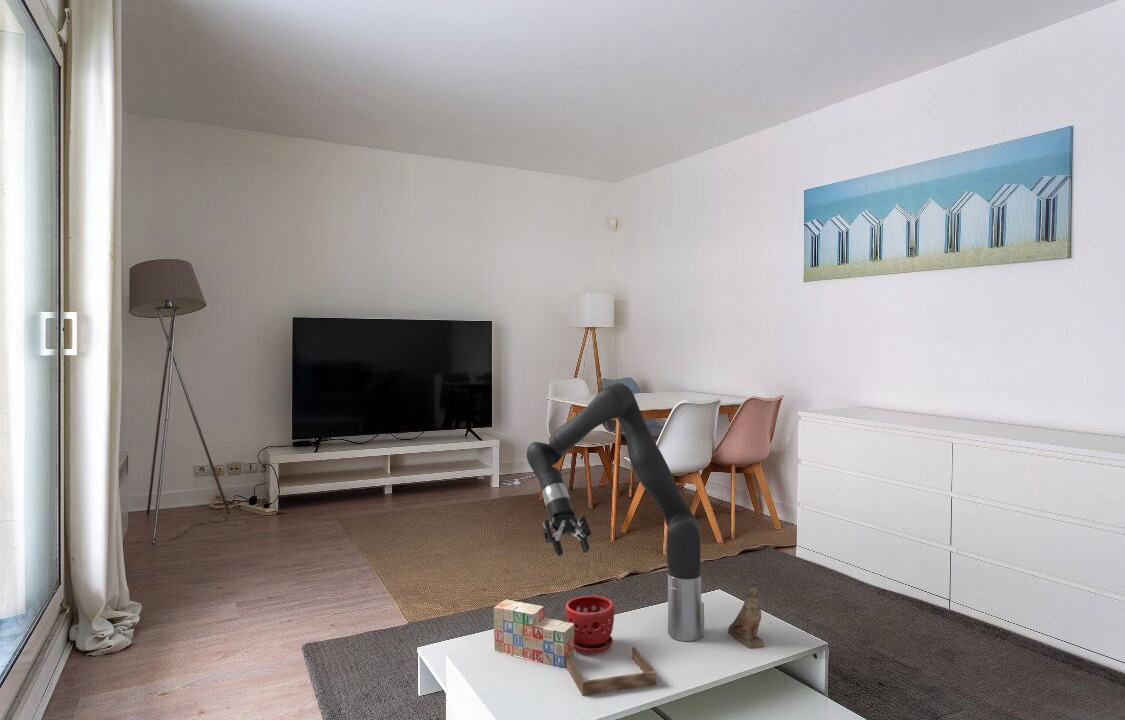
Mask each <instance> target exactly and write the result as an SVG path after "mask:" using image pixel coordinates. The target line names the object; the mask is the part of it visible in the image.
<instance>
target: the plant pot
mask: <svg viewBox="0 0 1125 720" xmlns="http://www.w3.org/2000/svg"><path fill="white" fill-rule="evenodd" d="M593 606H594V607H595V609H593V608H592V607H593ZM577 608H579V609H578V610H577ZM601 608H603V610H601ZM584 609H587V610H586V611H584ZM565 619H566V622H568V623H574V633H575V634H574V651H577V652H579V653H583V654H587V655H594V654H601V653H603V652H606V651H608V650H609V649H610V648H612V647H613V643H614V637H612V636H611V635H612V632H613V628H614V623H615V606H614V602H613V600H611V599H609V597H606V596H605V597H604V596H600V595H584V596H583V595H582V596H577V597H574V598H572V599H569V600H568V601H567V602H566V604H565Z"/></svg>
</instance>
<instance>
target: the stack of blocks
mask: <svg viewBox="0 0 1125 720" xmlns="http://www.w3.org/2000/svg"><path fill="white" fill-rule="evenodd" d="M493 634H494V635H493V636H494V638H493V639H494V641H493V642H494V647H493V648H494V652H495V651H498V652H497V653H499V652H503V653H507V654H511V655H516V656H520V657H524V658H529V659H532V660H531V661H534V660H537V661H540V662H539V663H542V662H544V663H543V664H546V663H547V665H550V664H551V665H550V666H555V667H558V668H562V669H563V668H566V656H568V655H569V656H570V657H571V659H572V661H574V659H575V649H574V634H575V633H574V623H568V622H567V621H565V620H564V621H563V620H559V619H554V618H549V617H548V618H547V617H545V606H543V605H539V604H538V605H537V604H533V603H527V602H522V601H515V600H510V599H504V600H503V601H501V602H500V603H498V604H496V605H495V606H494V607H493ZM503 653H502V654H503ZM507 654H506V655H507ZM511 655H510V656H511ZM524 658H523V659H524ZM529 659H528V660H529ZM537 661H536V662H537Z"/></svg>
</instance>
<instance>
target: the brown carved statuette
mask: <svg viewBox="0 0 1125 720" xmlns="http://www.w3.org/2000/svg"><path fill="white" fill-rule="evenodd" d="M758 589H759V587H758V586H757V585H750V587H748V589H747V592H748V595H747V596H745V600H744V603H743V606H742V607H741V609H740V611H739V613H738V614H737V616H736V617H735V618H734V620H733V621H732V623H731V624H730V625H729V626H728V630H727V633H728V634H729V635H730V636H731V637H732V638H734V639H735V640H736V641H738V642H740V643H741V644H742V645H744V646H746V647H747V648H748V649H751V650H754V649H757V648H763V647H765V645H764V641H763V639H762V638H760V637H758V631H759V626H760V623H761V620H762V610H761V608H760V606H759V602H760V597H759V595H758Z"/></svg>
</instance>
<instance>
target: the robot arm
mask: <svg viewBox="0 0 1125 720" xmlns="http://www.w3.org/2000/svg"><path fill="white" fill-rule="evenodd" d="M613 419H617V421H618V423H619V425H620V426H621V428H622V430H623V432H624V435H625V439H626V447H627V454H628V459H629V462H630V464H631V467H632V468H633V471H634V472H635V475H636V477H637V478H638V480H639V481H638V482H640V484H641V485H642V487H643V488H644V489H645V491H646V492H647V493H648V495H649V496H650V497H651V498H652V499H653V500H654V501H655V503H656V504H657V506H658V508H659V509H660V511H661V514H662V516H663V519H664V521H665V524H666V526H667V531H666V565H667V634H668V636H669V637H671V638H672V639H674V640H677V641H681V642H693V641H697V640H699V639H701V638H704V637H705V604H704V601H702V565H701V563H702V562H701V536H702V530H701V529H702V527H701V525H700V522H699V521H698V520H697V518H696V517H695V515H694V513H693V512H692V511H691V509H690V507H689V506H688V504H687V502H686V501H685V499H684V498H683V496H682V494H681V493H680V491H679V488H678V486H677V483H676V480H675V478H674V476H673V474H672V472H671V470H670V468H669V465H668V464H667V461H666V460H665V458H664V455H663V454H662V451H661V450H660V448H659V446H658V444H657V443H656V441H655V438H654V437H653V435H652V433H651V431H650V429H649V427H648V426H647V424H646V421H645V419H644V416H643V415H642V412H641V410H640V406H639V404H638V401H637V399H636V397H635V394H634V393H633V391H632V389H631V388H630V387H629V386H628V385H626V384H624V383H621V382H617V383H613V384H611V385H609V386H607V387H604V388H602V389H601V390H600V391H599V392H598V394H597V395H596V396H594V398H593V399H591V401H590V403H588V405H587V406H586V407H584V409H582V410H581V411H580V412H579V413H578V414H577V415H575V416H574V417H572V418H571V419H569V420H568V421H567V422H565V423H564V424H563V425H560V426H559V428H557V429H555V430H554V431H553V432H552V433H551V434H550V435H549V439H548V442H549V443H546V442H540V441H534V442H531V443H529V445H528V446H527V448H526V459H527V462H528V464H529V467H530V468H531V470H532V472H533V474H534V475H535V476H536V478H537V479H538V482H539V486H540V489H541V492H542V497H543V501H544V504H545V508H546V512H547V515H548V518H549V520H550V521H549V520H548V519H545V520H544V522H543V523H542V524H541V528H542V532H543V535H544V540H545V543H547V544H549V543H550V544H552V545H553V549H554V551H555V552H554V553H555V554H556V555H557V557H562V556H563V555H564V551H563V546H562V543H561V540H560V538H561V536H565V535H567V536H570V535H572V536H573V537H574V538H575V537H576V538H577V539H578V540H579V543H580V546H581V549H582V553H583V554H587V553H588V552H589V551H590V550H589V549H590V545H589V541H588V538H589V537H590V536H591V535H592V531H591V528H590V527H589V523H588V521H587V519H586V516H582V517H580V518H577V517H576V516H575V512H574V511H575V510H574V507H573V505H572V504H573V503H572V502H571V498H570V495H569V492H568V489H567V487H566V485H565V482H564V479H563V477H562V474H561V471H560V469H558V468H557V467H555V465H556V464H558V463H559V462H560V460H562V458H563V457H564V455H565V454H566V452H567V451H569V450H570V449H571V448H573V447H575V445H577V444H578V443H579V442H581V441H582V440H584V438H585V437H586V436H588V435H589V433H590V432H592V431H594V429H595V428H598V427H599V426H601V425H602V424H605V423H607V422H609V421H611V420H613ZM552 529H553V530H555V531H554V534H553V532H552Z"/></svg>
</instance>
